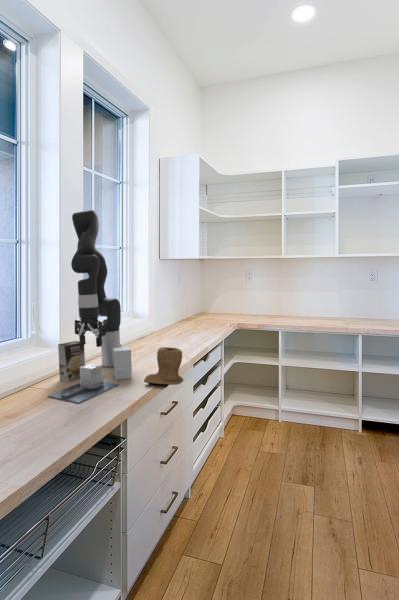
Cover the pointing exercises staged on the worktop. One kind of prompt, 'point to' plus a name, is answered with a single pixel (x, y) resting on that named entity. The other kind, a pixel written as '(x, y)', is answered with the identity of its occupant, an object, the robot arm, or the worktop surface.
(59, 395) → the grey base plate
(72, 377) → the coffee box
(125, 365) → the supplement box
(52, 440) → the worktop surface
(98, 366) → the brushed steel cube
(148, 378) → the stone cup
